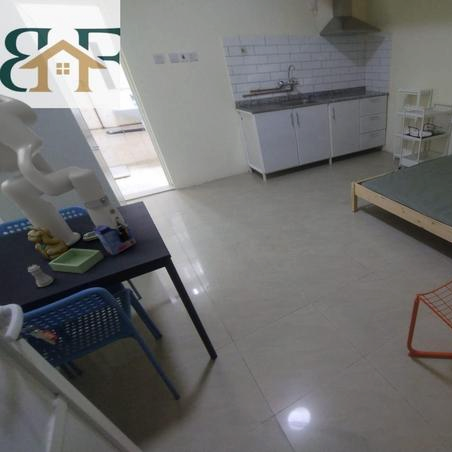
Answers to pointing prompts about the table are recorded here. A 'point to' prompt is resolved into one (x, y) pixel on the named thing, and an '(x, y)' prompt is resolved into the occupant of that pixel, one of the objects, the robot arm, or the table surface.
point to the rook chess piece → (40, 276)
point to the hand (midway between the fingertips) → (118, 239)
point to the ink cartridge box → (113, 239)
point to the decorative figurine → (47, 242)
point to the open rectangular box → (76, 260)
